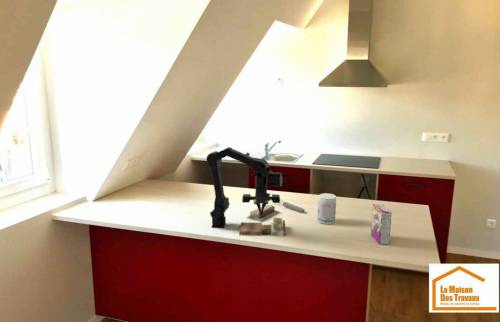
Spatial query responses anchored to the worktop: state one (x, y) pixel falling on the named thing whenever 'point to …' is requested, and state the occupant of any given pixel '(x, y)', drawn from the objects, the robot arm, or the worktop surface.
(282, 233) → the trap deck
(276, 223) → the birch block
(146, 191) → the worktop surface
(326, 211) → the supplement tub
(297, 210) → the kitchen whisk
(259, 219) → the packaged product
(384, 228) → the candy bar box
